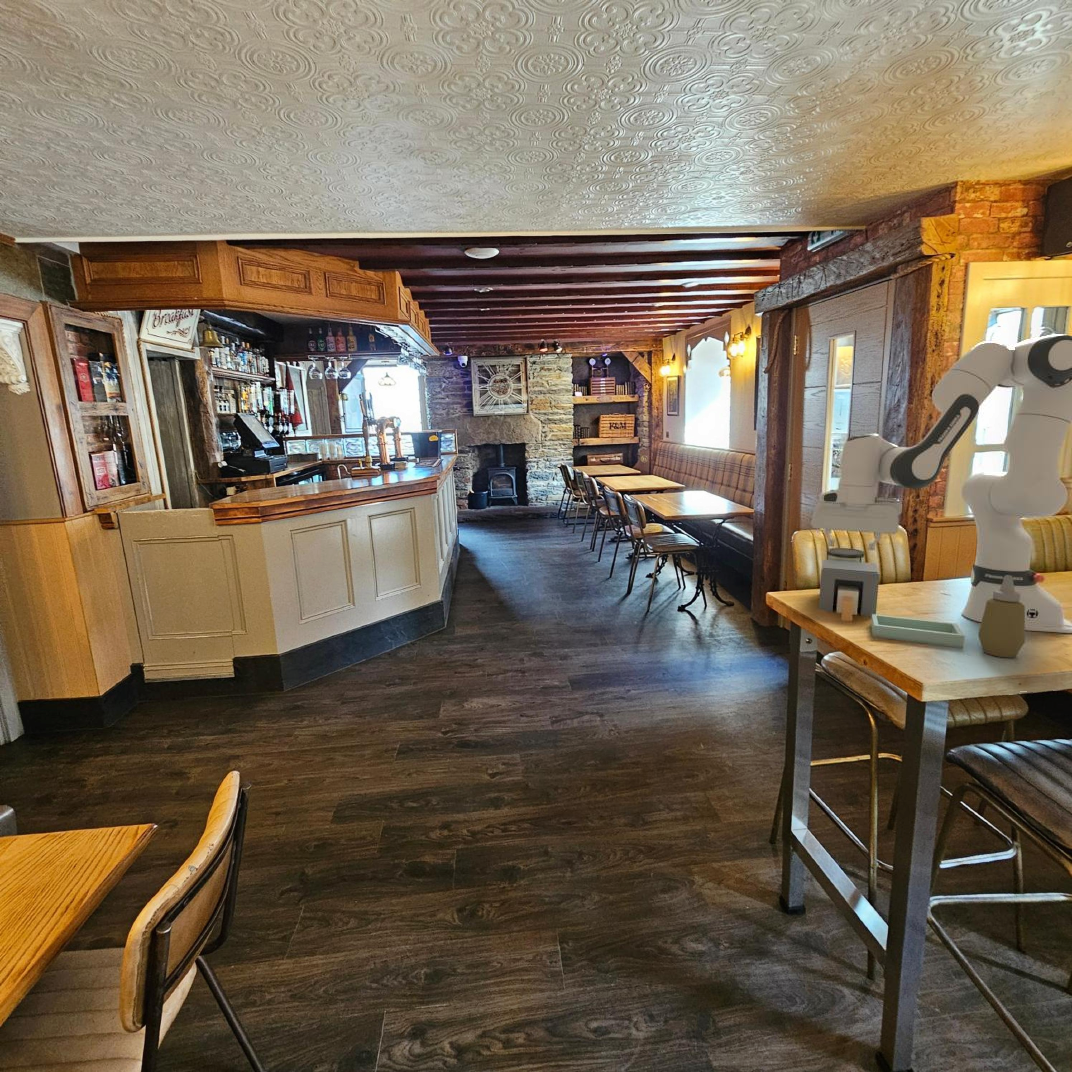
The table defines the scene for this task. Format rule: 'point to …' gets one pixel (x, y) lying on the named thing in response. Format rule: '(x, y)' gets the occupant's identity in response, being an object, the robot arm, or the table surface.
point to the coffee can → (845, 554)
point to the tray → (917, 630)
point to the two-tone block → (847, 601)
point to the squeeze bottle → (1003, 622)
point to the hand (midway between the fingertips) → (851, 547)
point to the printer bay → (849, 584)
